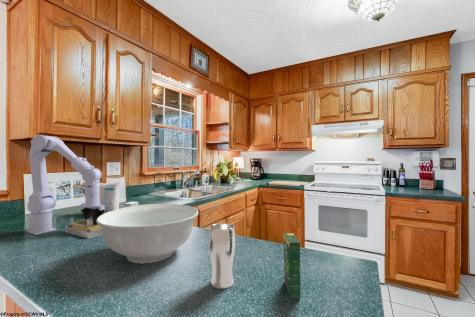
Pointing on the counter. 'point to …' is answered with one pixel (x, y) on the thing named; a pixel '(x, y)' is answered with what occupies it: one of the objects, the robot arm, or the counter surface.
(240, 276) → the counter surface
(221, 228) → the silver metal tumbler
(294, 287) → the coffee box
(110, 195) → the pouch
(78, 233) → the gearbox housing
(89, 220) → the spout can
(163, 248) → the bowl
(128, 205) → the skincare box
